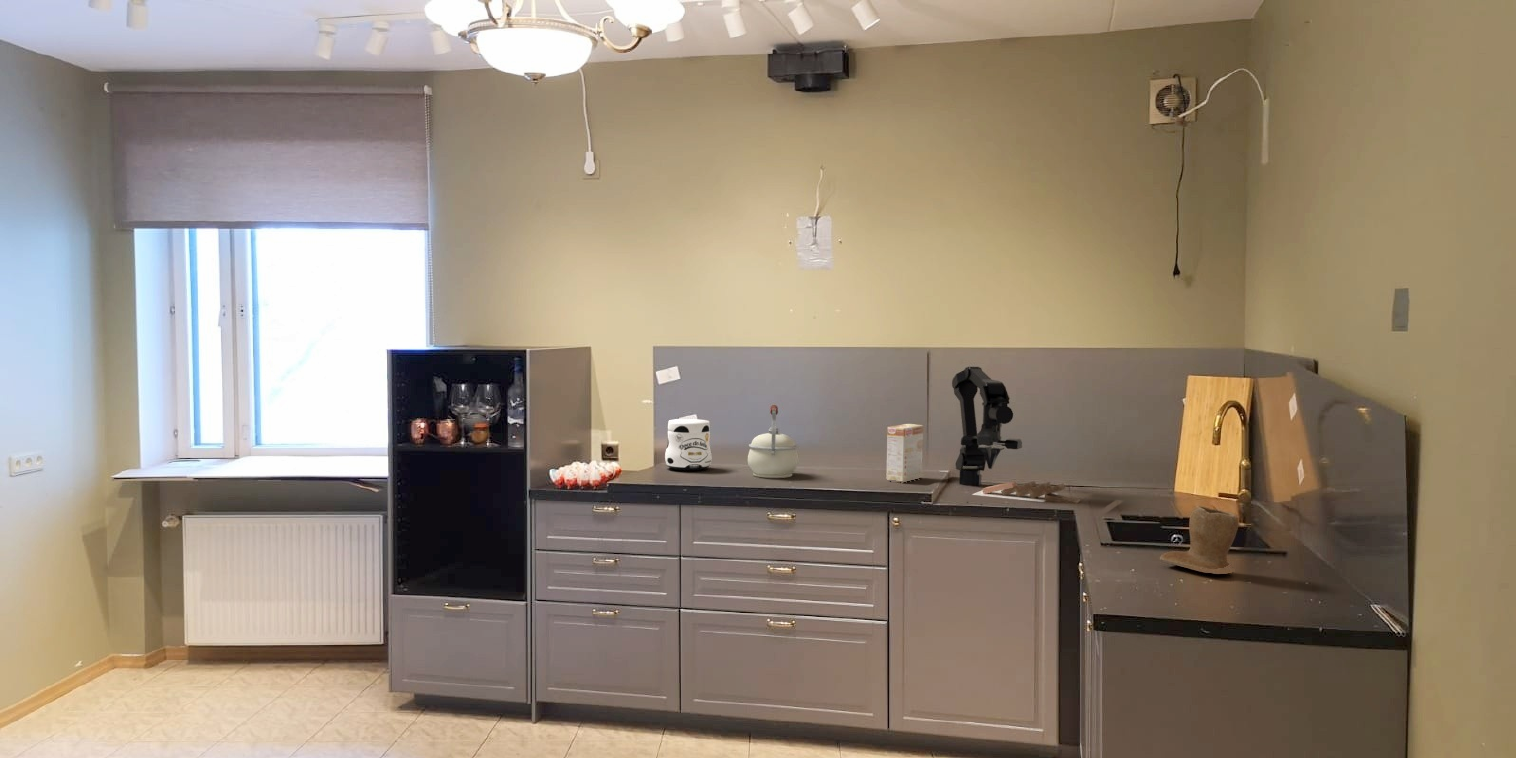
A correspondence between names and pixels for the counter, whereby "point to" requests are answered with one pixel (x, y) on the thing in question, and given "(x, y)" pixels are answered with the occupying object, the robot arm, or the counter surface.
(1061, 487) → the domino
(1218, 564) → the brown hat
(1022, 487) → the domino
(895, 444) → the coffeecake box
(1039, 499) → the domino mat
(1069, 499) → the domino
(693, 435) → the doce de leite jar
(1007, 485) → the domino
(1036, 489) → the domino
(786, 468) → the kettle
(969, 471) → the robot arm
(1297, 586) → the counter surface
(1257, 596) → the counter surface
